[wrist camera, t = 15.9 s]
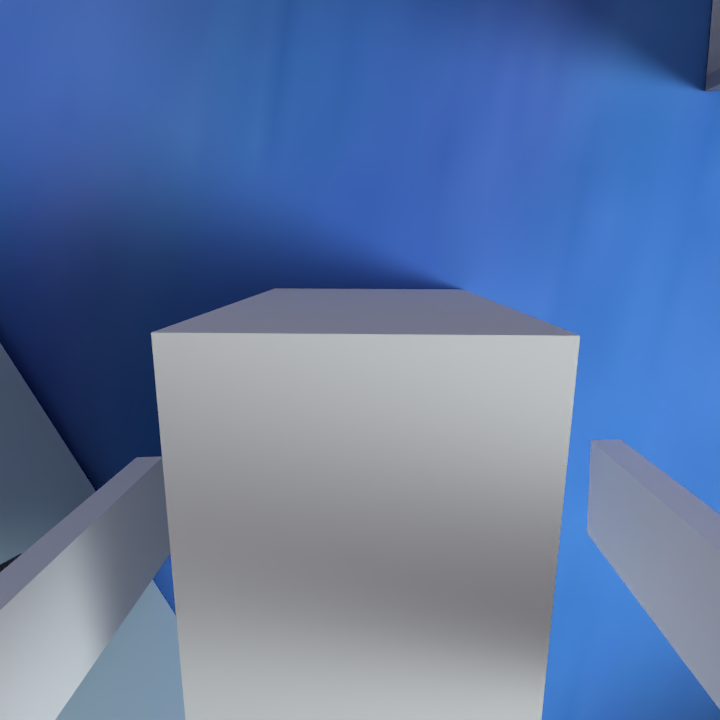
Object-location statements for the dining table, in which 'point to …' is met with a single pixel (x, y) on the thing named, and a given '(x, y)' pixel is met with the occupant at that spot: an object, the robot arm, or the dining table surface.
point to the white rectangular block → (364, 503)
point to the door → (43, 512)
